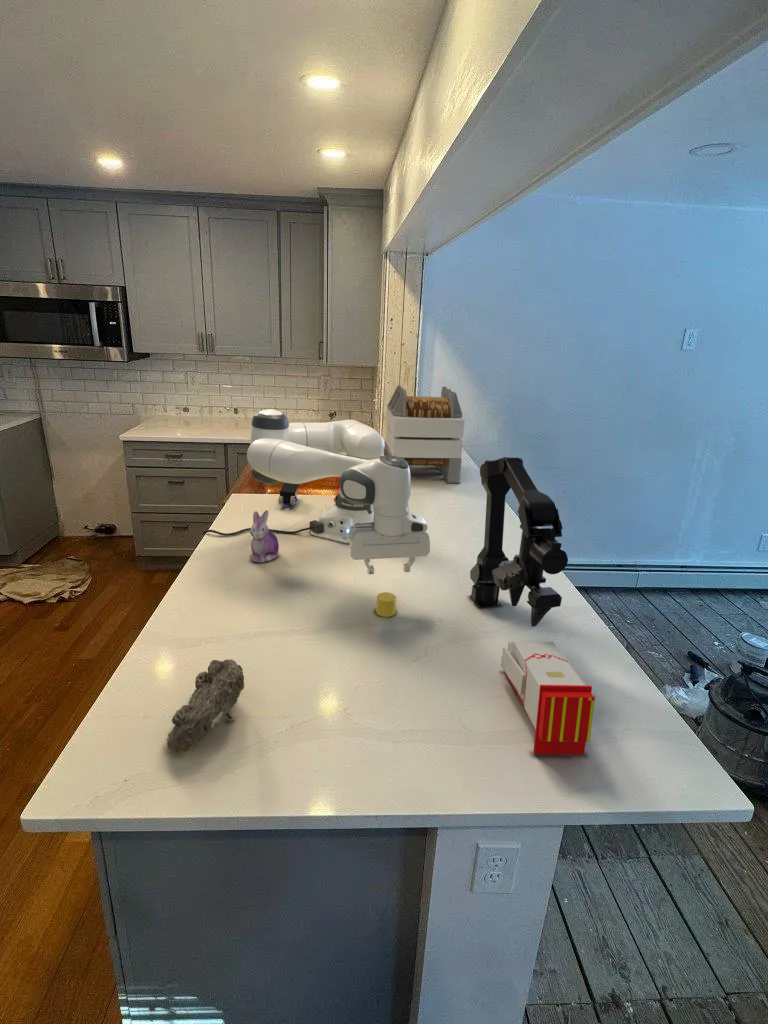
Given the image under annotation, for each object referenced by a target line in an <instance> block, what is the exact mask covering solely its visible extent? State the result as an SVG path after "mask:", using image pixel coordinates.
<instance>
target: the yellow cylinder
mask: <svg viewBox="0 0 768 1024" xmlns="http://www.w3.org/2000/svg"><path fill="white" fill-rule="evenodd" d="M396 607H397V596H396V594H394V593H393V592H387V591H386V592H385V591H384V592H380V593H378V594H377V595H376V606H375V610H376V611H375V612H376V614H377V616H380V617H384V618H389V617H392V616H394V615H395V614H396V610H397V608H396Z"/></svg>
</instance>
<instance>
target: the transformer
mask: <svg viewBox="0 0 768 1024" xmlns="http://www.w3.org/2000/svg"><path fill="white" fill-rule="evenodd" d="M440 393H441V394H440V396H415V395H414V396H413V395H412V396H411V395H407V394H408V393H407V390H406V389H404V388H403V387H402V385H399V384H398V385H397V386H396V388H395V390H394V392H393V394H392V395H391V398H390V400H389V402H388V404H387V405H386V413H385V414H386V415H385V423H386V428H385V438H384V443H385V449H384V452H383V456H385V455H390V456H397V457H399V458H402V459H403V460H405V461H406V462H407V463H408V465H409V467H410V466H411V467H412V466H413V467H415V466H416V467H417V466H418V467H436V468H437V470H438V469H439V473H440V474H441V475H443V478H444V479H445V481H446V482H447V483H449V484H455V483H456V484H459V483H461V472H462V461H463V460H462V453H463V442H464V441H463V440H462V439H463V438H464V431H465V430H464V429H465V419H464V418H463V411H462V408H461V405H460V402H459V398H458V395H457V392H455V391H453V390H452V389H451V388H447V386H442V387H441V392H440Z"/></svg>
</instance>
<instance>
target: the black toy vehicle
mask: <svg viewBox="0 0 768 1024" xmlns="http://www.w3.org/2000/svg"><path fill="white" fill-rule="evenodd" d="M299 486H300V484H292V483H284V482H283V484H282V486H281V488H280V490H279V496H278V505H279V506H282V509H285V508H286V507H289V509H290V510H291V509H292V508H293V506H294V505H296V502H298V501H299V500H298V492H297V490H298V489H299Z"/></svg>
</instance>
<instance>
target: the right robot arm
mask: <svg viewBox="0 0 768 1024" xmlns="http://www.w3.org/2000/svg"><path fill="white" fill-rule="evenodd" d="M479 474H480V483H481V485H482V487H483V489H484V490H485V492H486V505H485V523H484V524H485V525H484V540H483V548H482V549H481V550H480V552H479V553H478V555H477V558H476V563H475V564H474V566H473V567H471V569H470V571H469V578H470V580H471V582H472V583H473V584H472V586H471V587H472V588H471V594H470V596H469V597H470V599H471V600H472V601H473V603H474V604H475V605H476V606H477V607H478V608H480V609H481V608H491V607H500V606H501V605H502V604H501V602H500V601H499V598H500V590H501V591H508V594H509V599H510V604H511V606H512V607H514V608H515V607H517V606H518V604H519V602H520V600H521V597H522V595H523V592H524V589H525V588H526V587H527V589H529V590H530V591H529V592H528V593H527V599H528V600H527V601H526V603H527V604H528V605H529V606H530V607H531V608H530V626H531V627H537V626H538V625H539V623H540V622H541V620H543V618H544V617H545V616H546V615H547V613H548V612H550V610H551V609H553V608H560V607H561V605H562V600H563V597H562V596H561V594H559V592H557V591H556V590H555V589H554V588H553V587H551V586H546V587H543V586H541V584H545V583H546V582H547V578H546V577H545V576H544V572H545V573H546V574H548V575H557V574H559V573H561V572H563V571H564V570H565V568H567V565H568V563H569V558H568V553H567V552H566V551H565V550H564V549H563V548H562V542H560V541H559V540H557V539H556V538H562V537H563V532H562V530H563V524H562V521H561V516H560V513H559V509H558V506H557V504H556V503H555V501H553V499H552V498H551V497H550V496H549V495H548V494H545V493H543V492H541V490H539V489H538V487H537V486H536V484H535V483H534V481H533V479H532V478H531V476H530V474H529V472H528V471H527V469H526V467H525V466H524V461H523V458H522V457H519V456H503V457H500V458H497V459H491V460H490V459H486V460H485V461H484V463H482V464H481V465H480V467H479ZM511 490H512V493H513V494H514V496H515V498H516V500H517V502H518V504H519V506H518V509H517V514H518V519H519V522H520V524H519V528H520V529H521V530H522V531H521V537H520V545H519V552H518V554H515V555H514V557H513V558H512V559H513V560H510V559H509V558H508V557H507V555H506V554H505V551H504V550H503V543H504V526H505V512H506V511H505V510H506V496H507V494H508V493H509V492H510V491H511ZM542 527H543V528H542ZM544 527H547V528H544Z"/></svg>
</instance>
